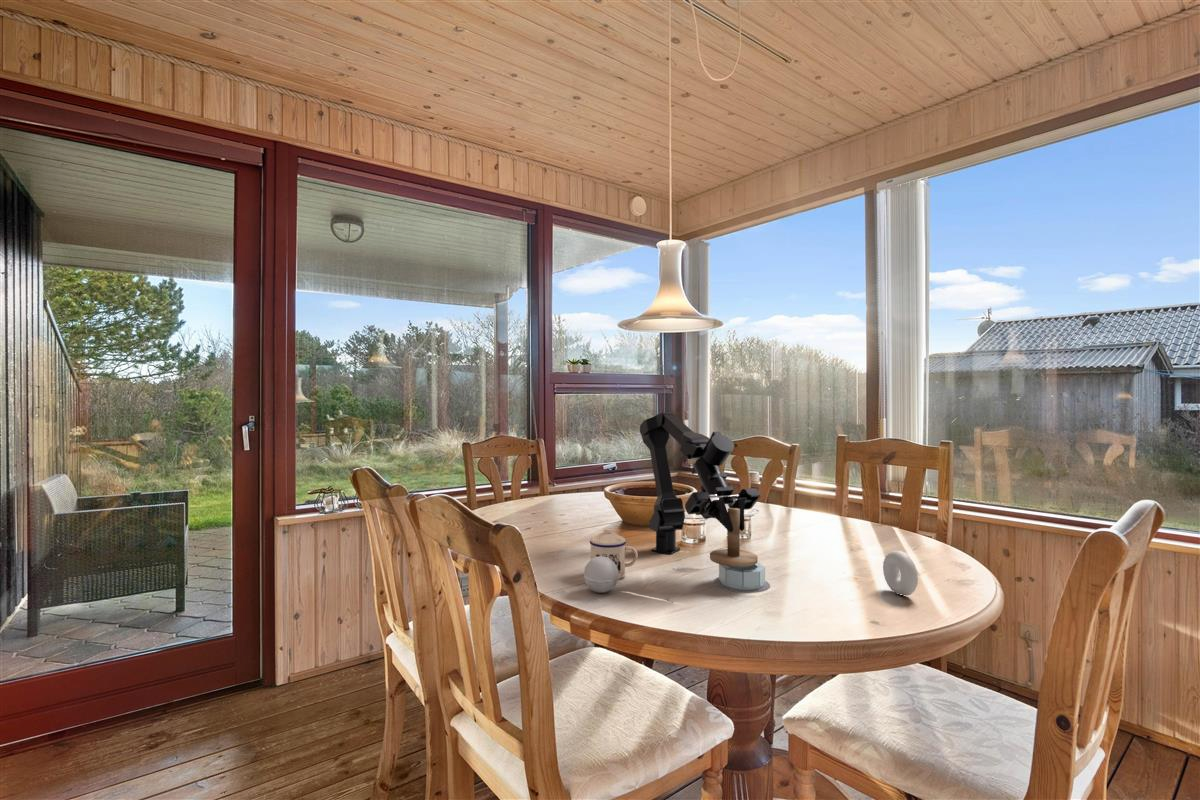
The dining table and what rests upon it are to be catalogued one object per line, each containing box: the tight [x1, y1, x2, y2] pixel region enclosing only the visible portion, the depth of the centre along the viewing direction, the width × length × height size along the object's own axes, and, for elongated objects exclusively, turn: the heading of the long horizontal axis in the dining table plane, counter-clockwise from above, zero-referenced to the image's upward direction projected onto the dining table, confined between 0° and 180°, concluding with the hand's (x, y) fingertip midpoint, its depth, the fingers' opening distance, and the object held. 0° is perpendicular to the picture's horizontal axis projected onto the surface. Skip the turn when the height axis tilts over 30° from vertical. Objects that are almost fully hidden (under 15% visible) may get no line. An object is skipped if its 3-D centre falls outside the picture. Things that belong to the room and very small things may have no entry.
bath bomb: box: [583, 556, 619, 594], centre depth 130 cm, size 8×8×8 cm
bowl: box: [718, 562, 766, 590], centre depth 135 cm, size 10×10×4 cm
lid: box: [709, 507, 759, 567], centre depth 134 cm, size 11×11×12 cm
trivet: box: [713, 576, 771, 594], centre depth 135 cm, size 13×13×1 cm
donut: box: [882, 549, 919, 596], centre depth 128 cm, size 10×3×10 cm, turn 6°
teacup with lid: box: [589, 527, 639, 580], centre depth 141 cm, size 12×9×12 cm
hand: (737, 530), depth 132 cm, fingers closed on lid, 3 cm apart
